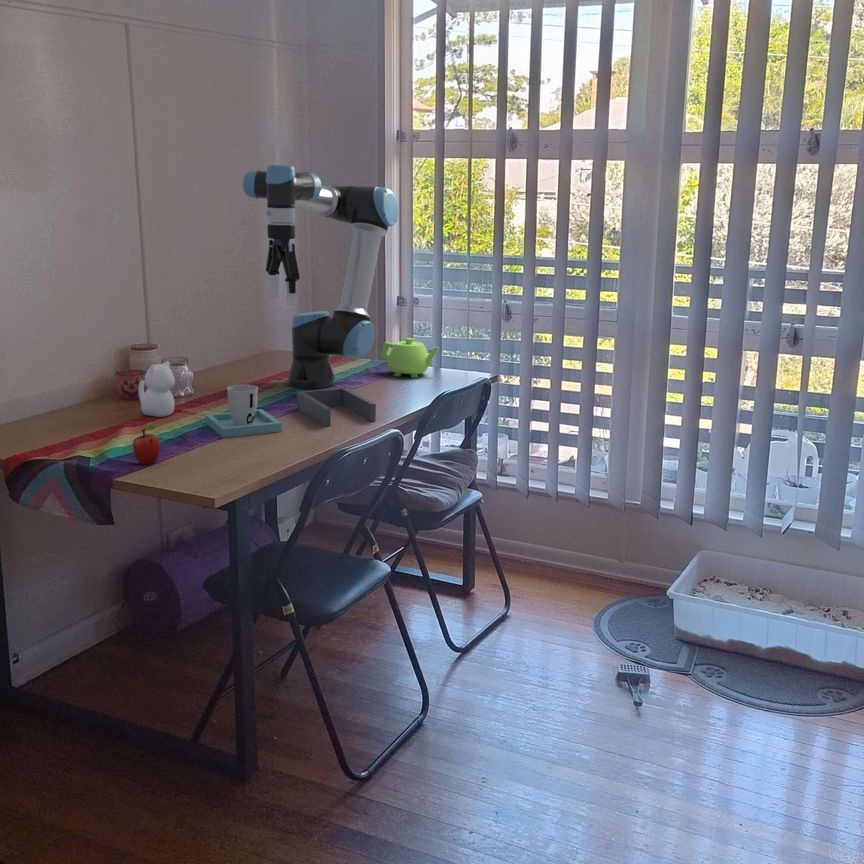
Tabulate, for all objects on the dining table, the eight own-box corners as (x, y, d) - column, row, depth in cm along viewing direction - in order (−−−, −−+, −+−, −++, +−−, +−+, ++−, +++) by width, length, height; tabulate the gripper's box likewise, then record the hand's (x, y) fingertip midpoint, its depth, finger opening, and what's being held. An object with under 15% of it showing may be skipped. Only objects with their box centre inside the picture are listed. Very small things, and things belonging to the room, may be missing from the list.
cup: (251, 429, 254) (251, 392, 251) (223, 426, 256) (222, 389, 253) (263, 421, 262) (262, 385, 259) (235, 419, 263) (234, 383, 261)
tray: (205, 422, 262) (205, 414, 261) (262, 417, 270) (261, 409, 269) (222, 437, 249) (222, 429, 248) (281, 431, 256) (281, 423, 255)
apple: (125, 464, 225) (123, 423, 222) (143, 457, 231) (141, 416, 228) (153, 469, 222) (150, 427, 219) (170, 461, 228) (168, 420, 226)
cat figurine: (161, 421, 263) (159, 367, 259) (127, 414, 268) (125, 361, 264) (184, 414, 270) (182, 362, 266) (150, 407, 276) (148, 356, 272)
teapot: (442, 373, 333) (443, 337, 329) (432, 381, 320) (433, 343, 317) (387, 368, 337) (387, 333, 334) (374, 376, 325) (375, 339, 322)
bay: (297, 408, 280) (297, 391, 279) (344, 403, 287) (344, 387, 286) (325, 426, 262) (325, 408, 260) (375, 421, 269) (375, 403, 267)
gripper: (253, 220, 271) (255, 296, 277) (284, 227, 250) (285, 308, 256) (278, 220, 274) (280, 294, 280) (311, 227, 253) (311, 307, 259)
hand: (282, 301), depth 268 cm, fingers open, 13 cm apart
